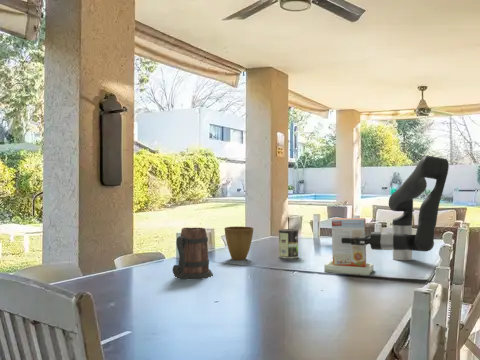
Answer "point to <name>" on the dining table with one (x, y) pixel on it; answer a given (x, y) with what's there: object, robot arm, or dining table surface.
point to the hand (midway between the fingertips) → (343, 239)
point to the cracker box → (345, 251)
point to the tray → (348, 269)
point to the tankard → (192, 254)
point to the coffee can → (288, 243)
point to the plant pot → (238, 241)
